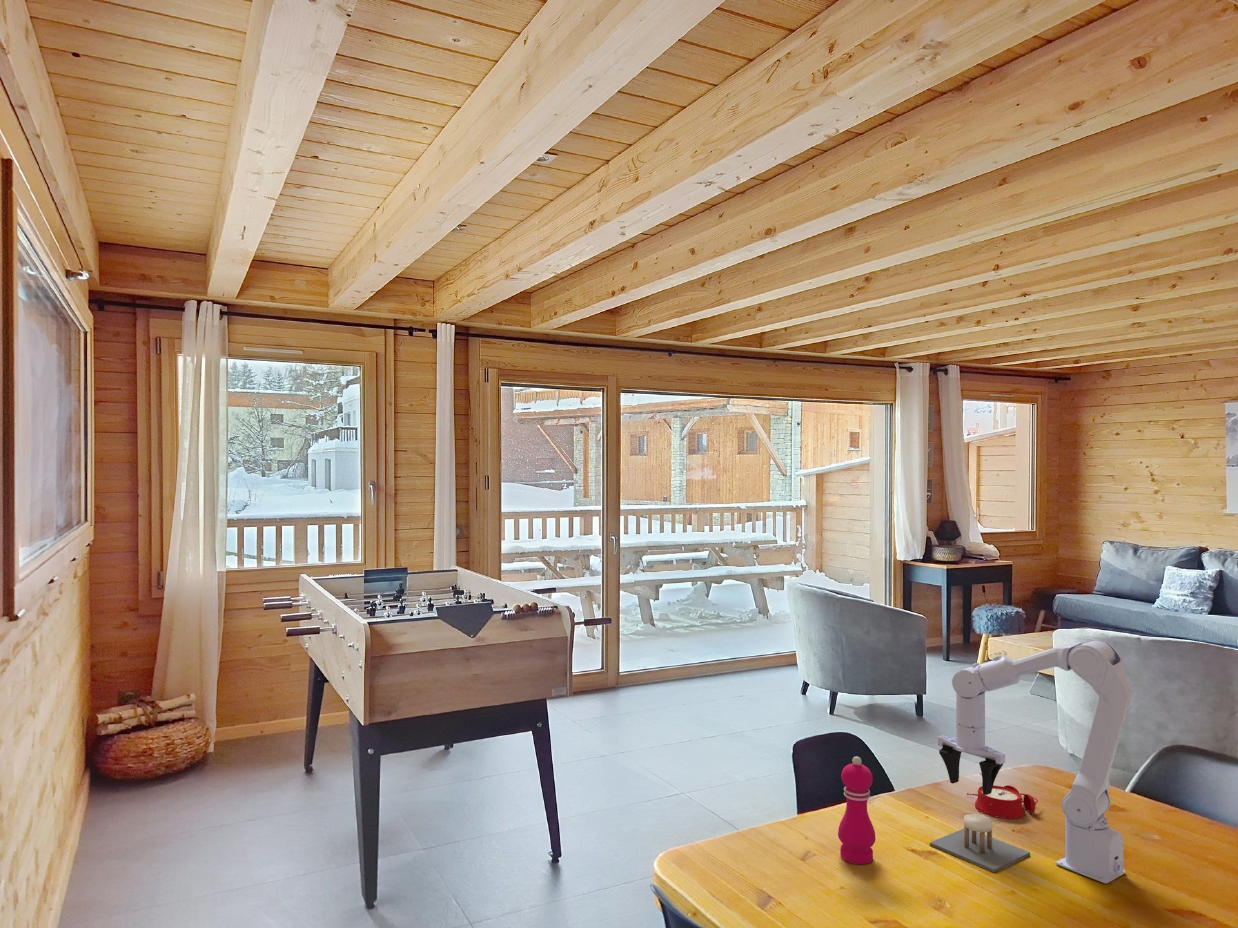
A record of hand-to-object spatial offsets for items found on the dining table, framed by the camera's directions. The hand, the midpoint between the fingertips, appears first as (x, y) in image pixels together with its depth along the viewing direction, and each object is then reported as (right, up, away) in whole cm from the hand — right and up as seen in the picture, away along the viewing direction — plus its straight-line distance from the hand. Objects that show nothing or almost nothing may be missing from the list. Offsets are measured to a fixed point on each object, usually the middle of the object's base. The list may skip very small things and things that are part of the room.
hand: (970, 787), depth 175 cm
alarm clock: (+13, -10, +12) cm, 21 cm away
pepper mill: (-28, -9, -12) cm, 32 cm away
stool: (-2, -9, -9) cm, 13 cm away
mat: (-2, -9, -9) cm, 13 cm away
